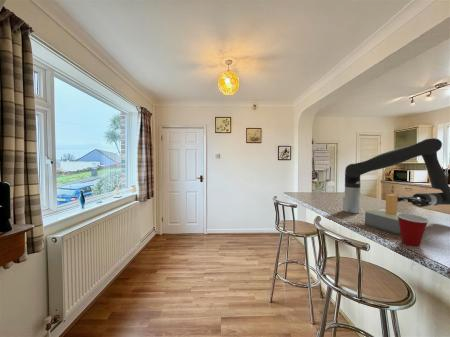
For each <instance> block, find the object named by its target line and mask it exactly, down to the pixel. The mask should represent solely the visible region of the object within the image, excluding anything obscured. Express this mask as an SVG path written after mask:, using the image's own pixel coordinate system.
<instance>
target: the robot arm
mask: <svg viewBox="0 0 450 337" xmlns="http://www.w3.org/2000/svg"><path fill="white" fill-rule="evenodd" d="M442 147H443V143H442V141H441V140H440V139H438V138H436V137H428V138H425V139H423V140H421V141H419V142H417V143H414V144H411V145H408V146H405V147H399V148H397V149H392V150H390V151H386V152H383V153H380V154H378V155H375V156H372V157H371V158H369V159H367V160H363V161H360V162H355V163H350V164H347V165H346V167H345V171H344V195H343V197H342V198H343V199H342V211H343V212H345V213H350V214H360V203H361V202H360V201H361V200H360V199H361V176H362V175H364V174H366V173H369V172H373V171H376V170H378V171H379V170H382V169H386V168H390V167H393V166H396V165H399V164H401V163H405V162H406V161H409V160H411V159H413V158H418V157H420V156H421V158H422V160H423V161H424V165H425V167H426V171H427V174H428V177H429V181H430V185H431V187H432V189H435V190H440V191H441V192H422V193H421V192H419V193H415V194H413V195H410V196H405V195H400V196H399V195H398V198H397V203H399V202H400V203H401V202H402V203H405V204H411V205H413V206H416V207H418V208H424V207H425V208H426V207H431V206H440V205H443V206H444V205H445V206H446V205H450V186H449V184H448V180H447V177H446V174H445V171H444V169H443V168H442V166H441V164H440V162H439V159H438V153H437V152H439V151H441V148H442Z"/></svg>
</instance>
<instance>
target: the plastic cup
mask: <svg viewBox="0 0 450 337" xmlns="http://www.w3.org/2000/svg"><path fill="white" fill-rule="evenodd" d="M397 216H398V220H399V225H400V233H401V235H400V237H401V238H400V239H401V242H402V243H403V244H404V245H407V246H411V247H419V246H420V245H421V243H422V239H423V236H424V234H425V229H426V227H427V225H428V223H430V219H428V218H427V217H423V216H421V215H418V214H417V215H416V214H413V213H412V214H411V213H402V212H399V214H397Z"/></svg>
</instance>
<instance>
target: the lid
mask: <svg viewBox="0 0 450 337" xmlns="http://www.w3.org/2000/svg"><path fill="white" fill-rule="evenodd" d="M398 196H399V195H398V194H391V193H390V194H386V195H385V209H384V208H383V209H369V210H365V212H367V213H371V214H374V215H378V216H382V217H386V218H390V219H394V220H398V216H397V214H399V213H400V212H398V202H397V198H398ZM398 221H399V220H398Z"/></svg>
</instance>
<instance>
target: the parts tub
mask: <svg viewBox="0 0 450 337" xmlns="http://www.w3.org/2000/svg"><path fill="white" fill-rule="evenodd" d="M364 225H365V226H369V227H370V228H374V229H377V230H380V231H384V232H387V233H391V234H394V235H396V234H397V235H396V236H401V233H400V225H399V221H398V220H394V219H390V218H386V217H382V216H378V215H374V214H371V213H367V212H365V213H364Z"/></svg>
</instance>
